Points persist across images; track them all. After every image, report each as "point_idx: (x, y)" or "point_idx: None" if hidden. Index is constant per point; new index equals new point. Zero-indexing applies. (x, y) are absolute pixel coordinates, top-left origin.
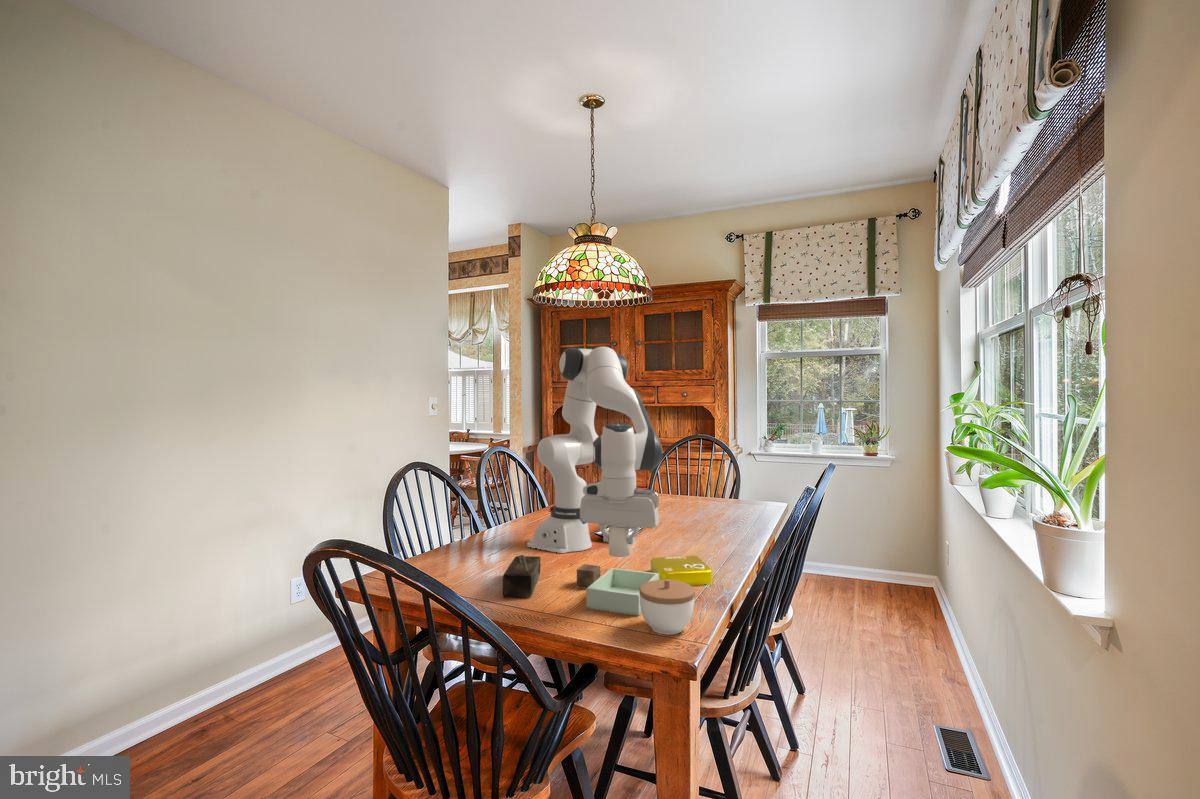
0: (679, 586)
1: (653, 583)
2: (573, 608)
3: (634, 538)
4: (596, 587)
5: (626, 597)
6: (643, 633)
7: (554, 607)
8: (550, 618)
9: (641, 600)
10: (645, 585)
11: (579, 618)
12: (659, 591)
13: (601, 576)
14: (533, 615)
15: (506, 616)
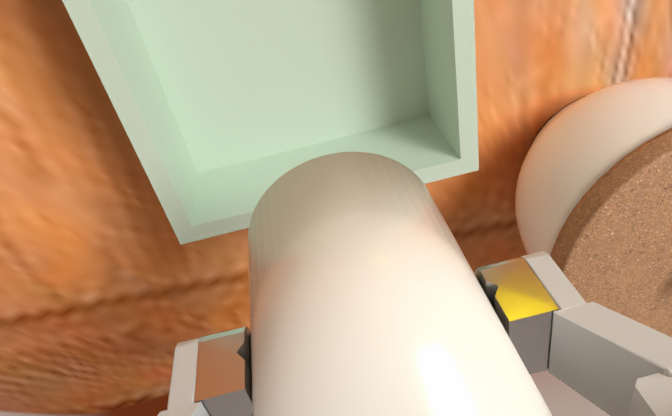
0: None
1: (626, 247)
2: (140, 216)
3: (569, 293)
4: (162, 140)
5: None
6: (514, 231)
7: (64, 253)
8: (151, 323)
9: None
10: (588, 286)
11: (241, 268)
12: (669, 306)
13: (76, 24)
14: (77, 340)
15: (11, 391)
